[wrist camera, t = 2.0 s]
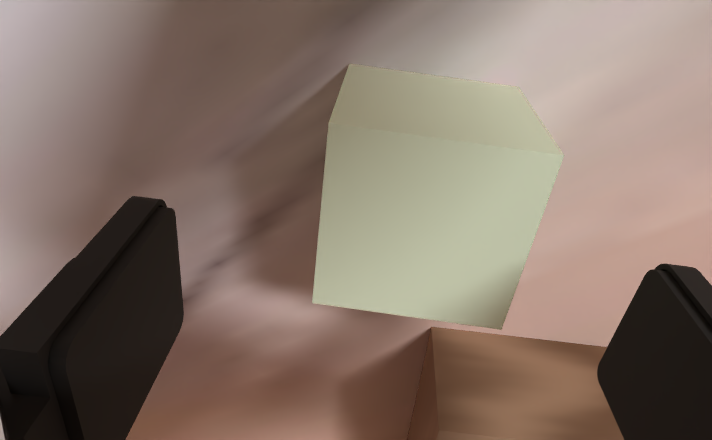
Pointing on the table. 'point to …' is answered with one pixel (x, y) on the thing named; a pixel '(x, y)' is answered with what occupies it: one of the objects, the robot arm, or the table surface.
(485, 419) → the walnut block
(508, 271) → the cream cube
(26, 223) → the table surface
